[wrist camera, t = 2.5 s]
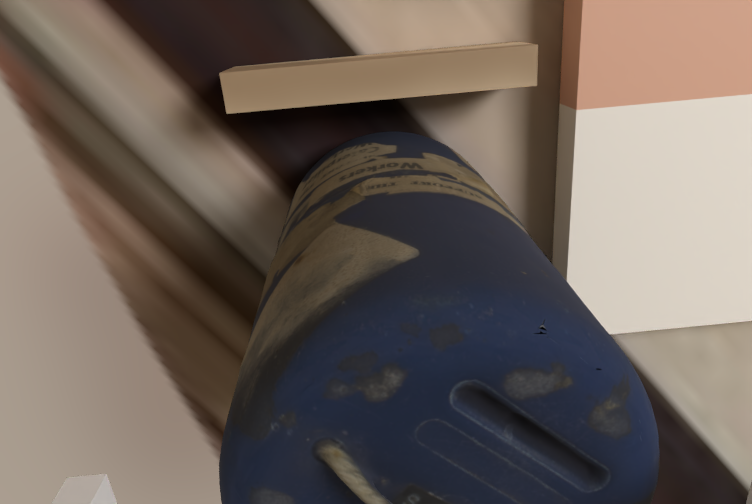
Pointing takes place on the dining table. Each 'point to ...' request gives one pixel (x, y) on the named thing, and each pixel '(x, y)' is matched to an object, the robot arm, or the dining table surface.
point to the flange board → (656, 162)
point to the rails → (379, 76)
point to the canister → (426, 352)
